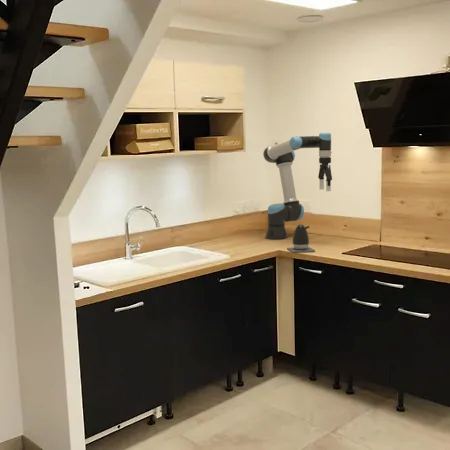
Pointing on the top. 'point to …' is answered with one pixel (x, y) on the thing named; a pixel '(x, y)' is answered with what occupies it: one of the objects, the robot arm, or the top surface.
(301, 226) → the pump dispenser
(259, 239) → the top surface
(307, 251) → the charcoal mat
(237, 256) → the top surface
